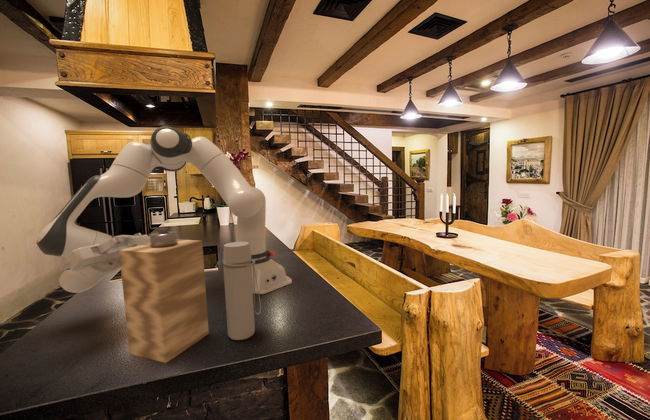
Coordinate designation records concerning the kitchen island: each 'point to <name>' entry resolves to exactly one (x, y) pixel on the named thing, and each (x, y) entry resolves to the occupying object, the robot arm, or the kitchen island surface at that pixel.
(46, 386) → the kitchen island surface
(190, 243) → the wooden block
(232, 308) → the water bottle
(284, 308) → the kitchen island surface
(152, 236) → the ratchet wrench
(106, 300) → the kitchen island surface
